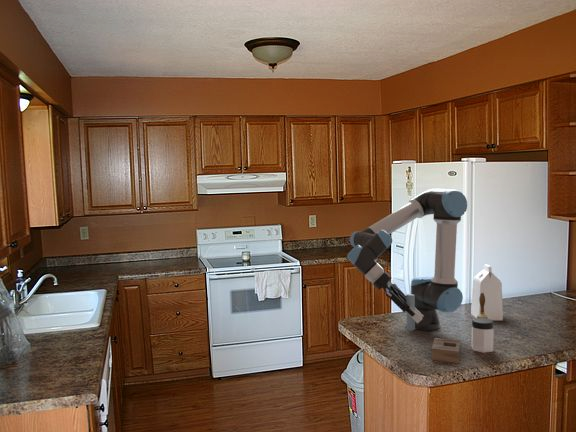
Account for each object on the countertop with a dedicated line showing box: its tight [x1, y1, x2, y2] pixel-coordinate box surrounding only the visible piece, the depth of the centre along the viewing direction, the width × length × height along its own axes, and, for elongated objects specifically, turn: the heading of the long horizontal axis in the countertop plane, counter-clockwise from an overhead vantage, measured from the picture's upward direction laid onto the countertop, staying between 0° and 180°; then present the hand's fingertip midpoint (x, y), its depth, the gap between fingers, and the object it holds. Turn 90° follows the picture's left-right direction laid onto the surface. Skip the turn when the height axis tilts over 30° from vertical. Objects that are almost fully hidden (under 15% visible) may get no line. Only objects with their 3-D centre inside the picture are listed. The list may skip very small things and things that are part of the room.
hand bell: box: [477, 293, 488, 319], centre depth 243 cm, size 8×8×16 cm
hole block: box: [431, 337, 461, 364], centre depth 206 cm, size 14×10×4 cm
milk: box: [470, 263, 504, 321], centre depth 259 cm, size 12×12×26 cm
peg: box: [405, 293, 416, 331], centre depth 210 cm, size 3×3×14 cm
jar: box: [470, 317, 494, 353], centre depth 213 cm, size 9×8×12 cm
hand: (420, 319), depth 209 cm, fingers closed on peg, 3 cm apart
